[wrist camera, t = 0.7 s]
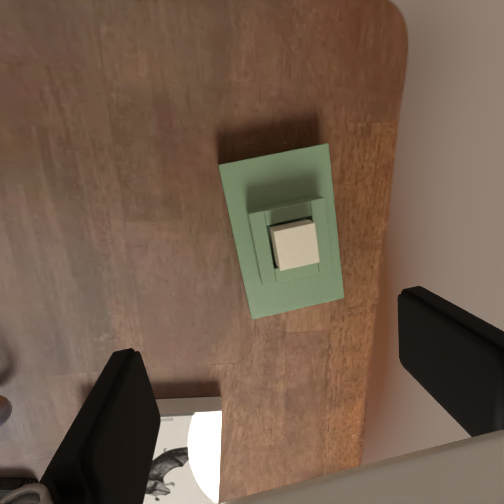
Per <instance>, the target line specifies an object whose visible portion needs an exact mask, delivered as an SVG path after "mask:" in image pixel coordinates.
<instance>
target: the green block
mask: <svg viewBox="0 0 504 504" xmlns="http://www.w3.org/2000/svg"><path fill="white" fill-rule="evenodd" d="M218 168H219V172H220V177H221V181H222V186H223V191H224V195H225V200H226V205H227V209H228V214H229V218H230V223H231V228H232V232H233V237H234V241H235V246H236V251H237V255H238V260H239V264H240V269H241V274H242V278H243V283H244V287H245V292H246V297H247V301H248V306H249V310H250V314H251V318H252V319H257V318H261V317H265V316H269V315H274V314H278V313H282V312H286V311H290V310H295V309H299V308H303V307H307V306H312V305H316V304H320V303H324V302H329V301H333V300H337V299H341V298H344V291H343V282H342V272H341V262H340V252H339V243H338V233H337V223H336V213H335V204H334V194H333V184H332V174H331V165H330V155H329V145H328V143H325V144H320V145H315V146H310V147H305V148H300V149H295V150H290V151H285V152H279V153H274V154H269V155H264V156H259V157H254V158H249V159H244V160H239V161H234V162H229V163H224V164H219V165H218ZM304 219H309V220H311V221H313V222H314V223H315V227H316V235H317V243H318V251H319V259H320V262H318V263H313V264H309V265H304V266H300V267H296V268H291V269H287V270H282V271H280V269H279V268H278V266H277V265H276V262H275V256H274V251H273V245H272V239H271V234H270V227H272V226H277V225H281V224H286V223H291V222H295V221H300V220H304Z"/></svg>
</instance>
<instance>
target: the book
mask: <svg viewBox="0 0 504 504" xmlns="http://www.w3.org/2000/svg"><path fill="white" fill-rule="evenodd" d="M156 403H157V406H158V409H159V412H160V417H161V424H160V429H159V433H158V438H157V442H156V447H155V452H154V456H153V461H152V465H151V470H150V474H149V479H148V483H147V488H146V493H145V497H144V502H143V504H218V497H219V471H220V444H221V418H222V404H221V396H219V397H197V398H174V399H156Z"/></svg>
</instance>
